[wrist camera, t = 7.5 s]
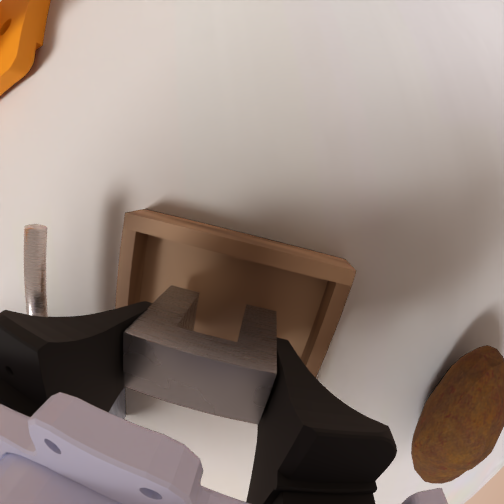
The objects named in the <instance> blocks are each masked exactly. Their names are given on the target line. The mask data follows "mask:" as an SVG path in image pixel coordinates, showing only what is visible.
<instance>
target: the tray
mask: <svg viewBox="0 0 504 504" xmlns="http://www.w3.org/2000/svg"><path fill="white" fill-rule="evenodd" d="M355 274H356V270H355V269H354V268H353V267H352V266H351V265H350V264H349V263H348V262H347V261H346V259H342V258H338V257H335V256H331V255H327V254H323V253H319V252H315V251H312V250H308V249H304V248H300V247H296V246H292V245H288V244H285V243H281V242H277V241H273V240H269V239H265V238H261V237H257V236H253V235H249V234H245V233H241V232H237V231H233V230H229V229H225V228H221V227H217V226H213V225H209V224H205V223H200V222H196V221H192V220H188V219H184V218H180V217H176V216H171V215H167V214H163V213H159V212H155V211H150V210H146V209H143V210H137V211H132V212H127V213H125V217H124V224H123V231H122V239H121V247H120V255H119V265H118V276H117V288H116V304H115V309H117V308H120V307H124V306H128V305H131V304H135V303H138V302H143V301H147V302H150V303H153V302H154V301H155V300H156V299H157V298H158V297H159V296H160V295H161V294H163V293H164V292H165V291H166V290H167V289H168V288H169V287H170V286H171V285H173V286H177V287H180V288H184V289H188V290H192V291H195V292H199V299H198V305H197V311H196V317H195V323H194V330H193V331H196V332H199V333H203V334H207V335H211V336H214V337H218V338H222V339H226V340H231V341H235V342H237V341H238V337H239V333H240V329H241V324H242V320H243V316H244V312H245V308H246V304H248V305H252V306H256V307H261V308H265V309H269V310H274V311H276V312H277V338H282V339H286V340H288V341H289V342H290V344H291V345H292V347H293V348H294V350H295V351H296V353H297V355H298V356H299V357H300V359H301V360H302V362H303V363H304V364H305V366H306V367H307V368H308V370H309V371H310V372H311V373H312V374H313V376H314V377H315V378H316V376H317V373H318V371H319V369H320V366H321V364H322V362H323V359H324V357H325V355H326V352H327V350H328V347H329V345H330V342H331V340H332V337H333V335H334V332H335V330H336V327H337V324H338V322H339V319H340V316H341V314H342V311H343V308H344V306H345V303H346V300H347V297H348V294H349V291H350V289H351V286H352V283H353V280H354V277H355Z"/></svg>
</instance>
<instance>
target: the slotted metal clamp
mask: <svg viewBox="0 0 504 504" xmlns="http://www.w3.org/2000/svg"><path fill="white" fill-rule="evenodd" d="M198 299H199V292H195V291H192V290H188V289H184V288H180V287H177V286H173V285H171V286H170V287H169V288H168V289H167V290H166V291H165V292H164V293H163V294H161V295H160V296H159V297H158V298H157V299H156V300H155V301H154V302H153V303H152V304H151V305H150V306H149V307H148V308H147V309H148V310H146V311H145V312H144V313H143V314H141V315H140V316H139V317H138V318H137V319H136V320H135V321H134V322H133V323H132V324H131V325H130V326H129V327H128V328H127V329H126V330H125V331H124V332H123V378H124V386H125V387H127V388H130V389H133V390H135V391H138V392H141V393H144V394H146V395H149V396H152V397H155V398H158V399H161V400H164V401H167V402H170V403H174V404H177V405H180V406H184V407H187V408H191V409H194V410H198V411H202V412H205V413H209V414H213V415H217V416H221V417H226V418H230V419H235V420H239V421H244V422H249V423H255V424H259V422H260V419H261V417H262V414H263V411H264V408H265V406H266V403H267V400H268V397H269V395H270V392H271V389H272V386H273V383H274V380H275V377H276V375H277V312H276V311H274V310H269V309H265V308H261V307H256V306H252V305H248V304H246V308H245V312H244V316H243V320H242V324H241V329H240V333H239V337H238V341H237V342H235V341H231V340H226V339H222V338H218V337H214V336H211V335H207V334H203V333H199V332H196V331H193V330H194V323H195V317H196V311H197V305H198Z"/></svg>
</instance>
